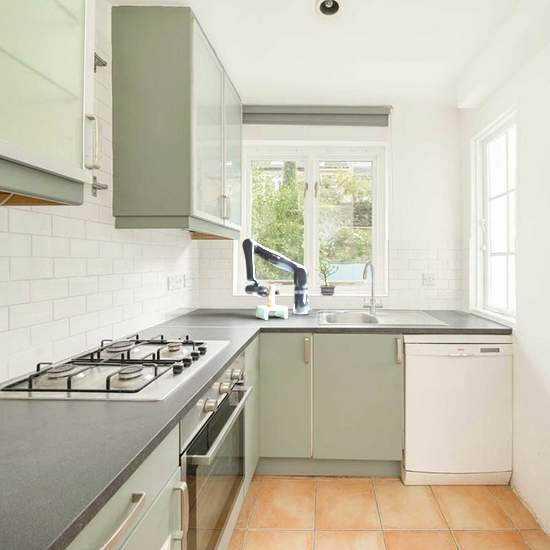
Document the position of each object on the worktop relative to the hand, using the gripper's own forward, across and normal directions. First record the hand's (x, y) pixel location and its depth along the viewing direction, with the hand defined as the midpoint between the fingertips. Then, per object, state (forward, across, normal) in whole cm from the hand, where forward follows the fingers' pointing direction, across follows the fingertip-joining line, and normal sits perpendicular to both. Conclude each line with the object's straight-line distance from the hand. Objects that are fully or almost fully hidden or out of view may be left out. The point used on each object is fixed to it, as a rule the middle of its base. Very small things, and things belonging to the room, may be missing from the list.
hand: (272, 293), depth 298 cm
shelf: (-1, 0, +16) cm, 16 cm away
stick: (-1, 0, +9) cm, 9 cm away
